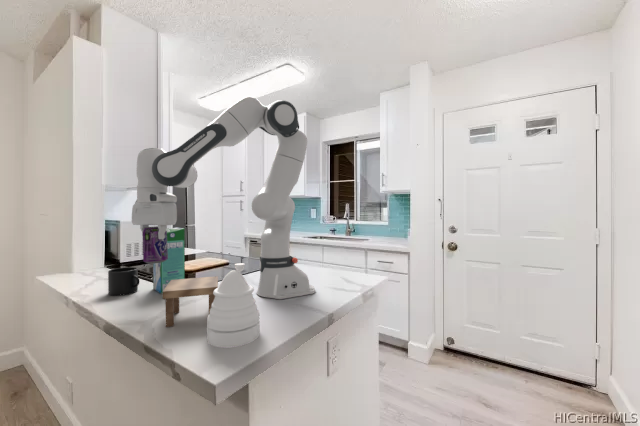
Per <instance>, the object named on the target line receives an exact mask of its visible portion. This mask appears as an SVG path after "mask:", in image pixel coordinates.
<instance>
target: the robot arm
mask: <svg viewBox="0 0 640 426" xmlns="http://www.w3.org/2000/svg"><path fill="white" fill-rule="evenodd" d="M298 118H299V117H298V112H297V109H296V107H295V106H294V105H293V104H292V103H291V102H289V101H287V100H284V99H282V100H281V99H280V100H276V101H273V102H272V103H271V104H269V105H264V104H262V102H260V100H258V98H256V97H254V96H250V95H247V96H243V98H241V99H239V100H237V101H236V102H234V103H233V104H231V105H230V106H229V107H228V108H226V109H225V110H224V111H223V112H222V113H220V114H219V116H217V117H216V118H215V119H214V120H213V121H211V122H210V123H209V124H208V125H207V126H206V127H204V128H203V129H201V130H200V131H198V132H197V133H196V134H195V135H193V136H192V137H191V138H189V139H188V140H186V141H185V142H184V143H183V144H181V145H180V146H179V147H177V148H175V149H173V150H171V151H170V150H169V151H165V150H164V149H163V148H156V147H149V148H145V149H143V150H141V151H140V152H139V153H138V155H137V160H136V177H137V181H138V182H137V185H136V200H135V201H134V203H133V205H132V210H131V223H132V225H133V226H139V229H140V231H141V232H142V233H143V230H144V227H150V226H158V229H159V232H158V234H157V239H164V238H165V235H164V234H165V232H166V229H167V228H168V226H174V225H176V223H177V221H178V208H177V204H176V203H177V201H178V197H177V196H176V195H175V194H173V193H171V192H169V190H168V188H169V187H175V188H179V189H182V188H183V189H186V188H190V187H192V186H193V185H194V184H195V183H197V178H198V171H197V168H196V167H195V166H194V165H195V164H196V163H197V162H198V161H200V160H201V159H202V158H203V157H205V156H206V155H207V154H209V153H210V152H211V151H212V150H214V149H216V148H217V149H218V148H220V147H229V148H230V147H235V146H236V145H238V144H240V143H241V142H242V141H244V140H245V139H247V137H249V135H251V134H252V133H253V132H254V131H255V130H257V129H258V128H259V129H261V130H263V132H264V133H266V134H268V135H271V136H276V137H277V140H278V143H277V148H276V151H275V155H274V158H273V161H272V164H271V168H270V170H269V174H268V177H266V180H265V182H264V184H263V185H262V187H261V189H260V190H259V192H258V193H257V195H255V196H254V198H253V199H252V202H251V210H252V213H253V214H254V216H255V217H257V218H258V219H260V220H263V221H265V224H264V228H263V231H262V233H261V235H260V256H259V265H258V267H259V283H258V287H257V290H256V295H257V296H260V297H263V298H271V299H276V300H283V299H290V298H295V297H301V296H306V295H312V294H314V293H316V289H315V287H314V286H313V285H312V284H310V281H309V280H310V279H309V277H308V275H307V273H306V272H304V271H303V270H302V269H301V268H299V267H298V266H296V265H295V264H297V263H298V261H299V259H298V258H297V257H296V256H295V257H294V256H291V255H290V254H291V253H290V252H291V251H290V250H291V249H290V245H291V243H290V241H291V240H290V237H291V236H290V235H291V228H292V223H293V217H294V213H295V211H296V204H295V201H294V200H293V199H292V198H291V196H290V195H291V192H292V191H293V189H294V187H295V186H296V185H297V184H298V182H299V177H300V176H301V172H302V168H303V165H304V162H305V158H306V157H305V156H306V154H307V145H308V138H307V136H306V134H305V133H304V132H303V131H302V130H299V129H300V124H299V119H298ZM142 233H141V234H142Z"/></svg>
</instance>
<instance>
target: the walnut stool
mask: <svg viewBox="0 0 640 426" xmlns="http://www.w3.org/2000/svg"><path fill="white" fill-rule="evenodd" d="M218 287H219V276H204V277H203V276H202V277H190V278H185V279H176V280H171V281H170V282H169V283H168V285H167V286H166V288H165V289H164V290H163V293H162V300H165V328H170V327H174V325H175V314H179V313H180V298H188V297H197V296H198V297H200V296H208V315H209V314H210V309H211V308H212V307H211V305H212V303H213V301H214V298H215V295H214V294H213V291H214V290H215V289H216V288H218Z"/></svg>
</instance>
